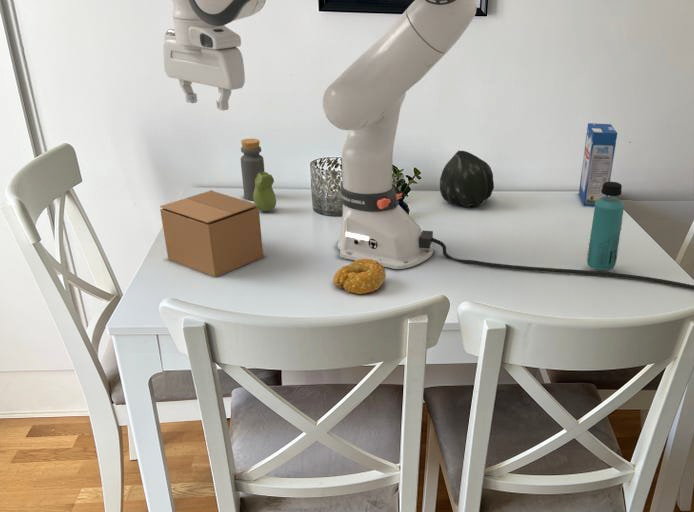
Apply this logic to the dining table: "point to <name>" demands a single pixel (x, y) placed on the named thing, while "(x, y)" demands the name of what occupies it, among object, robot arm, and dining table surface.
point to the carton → (214, 236)
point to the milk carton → (597, 162)
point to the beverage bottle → (606, 228)
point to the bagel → (360, 276)
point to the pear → (264, 192)
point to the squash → (466, 180)
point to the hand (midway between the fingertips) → (207, 106)
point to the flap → (197, 210)
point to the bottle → (250, 165)
